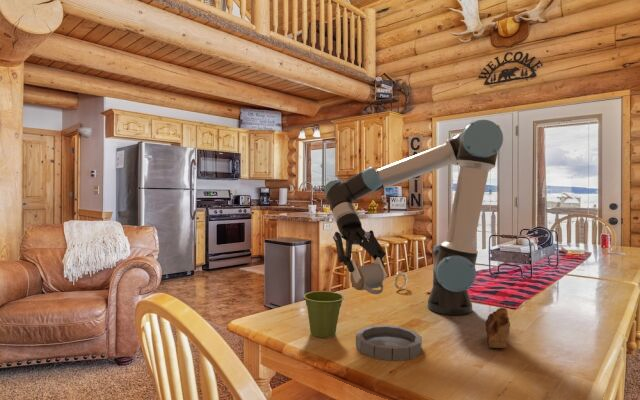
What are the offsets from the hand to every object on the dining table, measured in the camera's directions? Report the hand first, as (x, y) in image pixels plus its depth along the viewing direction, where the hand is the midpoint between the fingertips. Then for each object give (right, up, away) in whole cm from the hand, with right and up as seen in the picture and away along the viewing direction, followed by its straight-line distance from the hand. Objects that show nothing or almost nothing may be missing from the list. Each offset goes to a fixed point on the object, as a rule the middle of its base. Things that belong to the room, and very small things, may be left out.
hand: (371, 279), depth 118 cm
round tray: (+3, -16, -10) cm, 19 cm away
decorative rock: (+33, -17, -8) cm, 38 cm away
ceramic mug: (0, -4, +2) cm, 4 cm away
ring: (+19, -15, +52) cm, 58 cm away
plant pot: (-14, -16, 0) cm, 21 cm away
